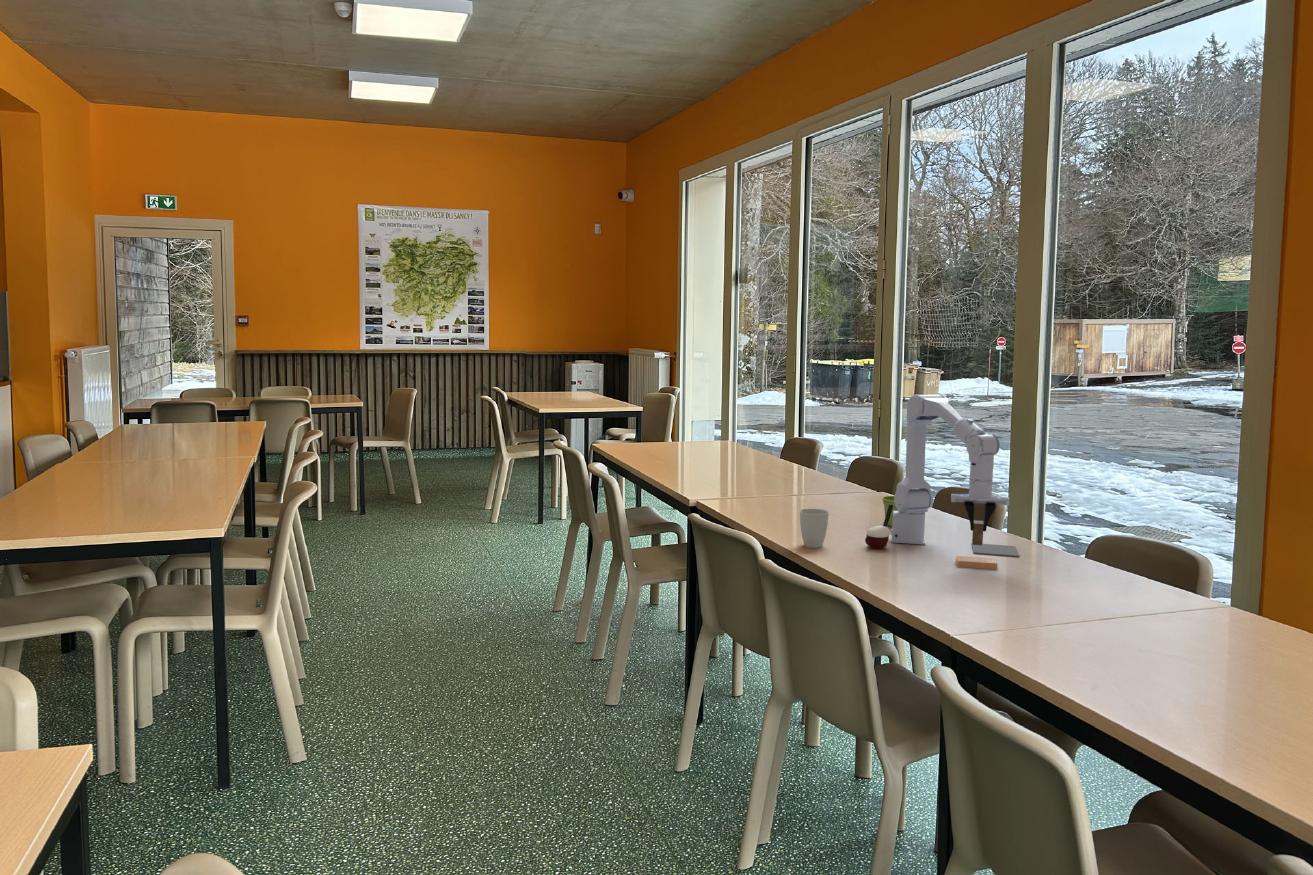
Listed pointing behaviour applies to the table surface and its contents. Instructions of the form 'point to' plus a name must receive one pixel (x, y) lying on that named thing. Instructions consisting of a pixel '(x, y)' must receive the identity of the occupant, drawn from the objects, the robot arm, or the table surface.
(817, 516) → the cup
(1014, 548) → the mat
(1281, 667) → the table surface
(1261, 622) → the table surface
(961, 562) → the tile
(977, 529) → the stick
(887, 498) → the plant pot
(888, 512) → the cocoa
